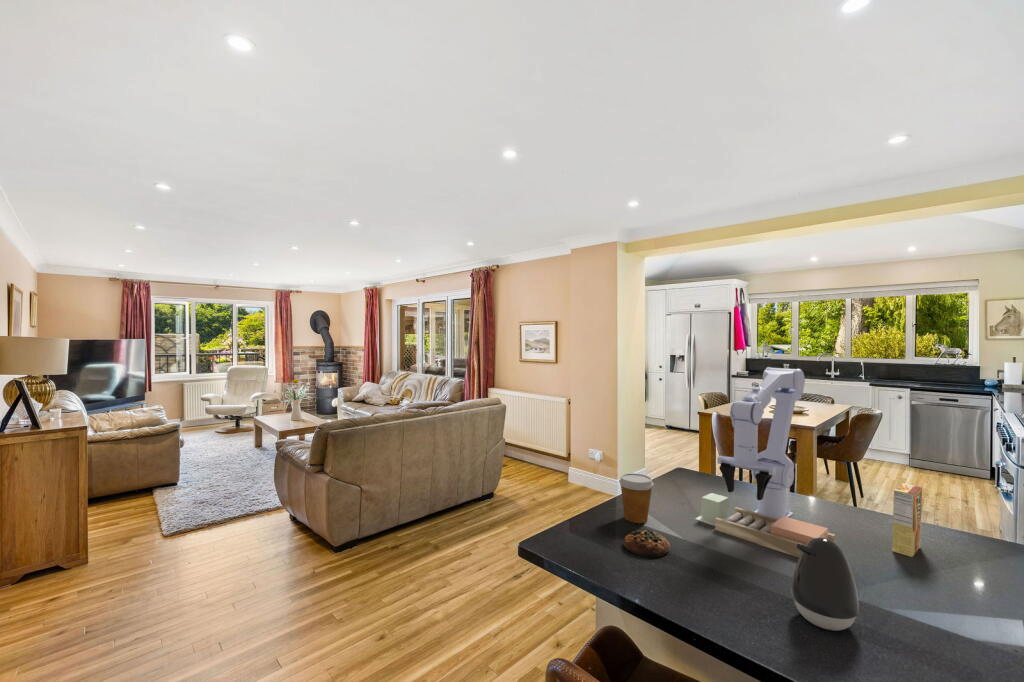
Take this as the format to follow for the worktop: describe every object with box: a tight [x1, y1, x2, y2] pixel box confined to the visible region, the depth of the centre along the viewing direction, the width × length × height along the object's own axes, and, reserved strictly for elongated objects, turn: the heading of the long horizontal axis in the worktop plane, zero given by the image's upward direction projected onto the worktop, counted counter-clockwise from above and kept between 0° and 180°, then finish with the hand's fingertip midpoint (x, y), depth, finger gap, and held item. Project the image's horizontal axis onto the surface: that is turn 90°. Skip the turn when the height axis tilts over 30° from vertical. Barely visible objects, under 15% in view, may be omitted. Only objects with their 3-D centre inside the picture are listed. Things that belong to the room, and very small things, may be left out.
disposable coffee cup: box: [618, 472, 654, 524], centre depth 129 cm, size 10×10×12 cm
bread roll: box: [623, 529, 671, 559], centre depth 112 cm, size 11×11×5 cm
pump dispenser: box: [790, 537, 860, 631], centre depth 83 cm, size 10×10×15 cm
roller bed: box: [694, 506, 836, 559], centre depth 120 cm, size 13×31×3 cm, turn 41°
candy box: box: [891, 482, 923, 558], centre depth 112 cm, size 9×4×15 cm, turn 129°
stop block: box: [700, 492, 730, 522], centre depth 130 cm, size 6×5×6 cm
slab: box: [771, 516, 829, 545], centre depth 113 cm, size 9×10×2 cm
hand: (745, 495), depth 123 cm, fingers open, 7 cm apart
